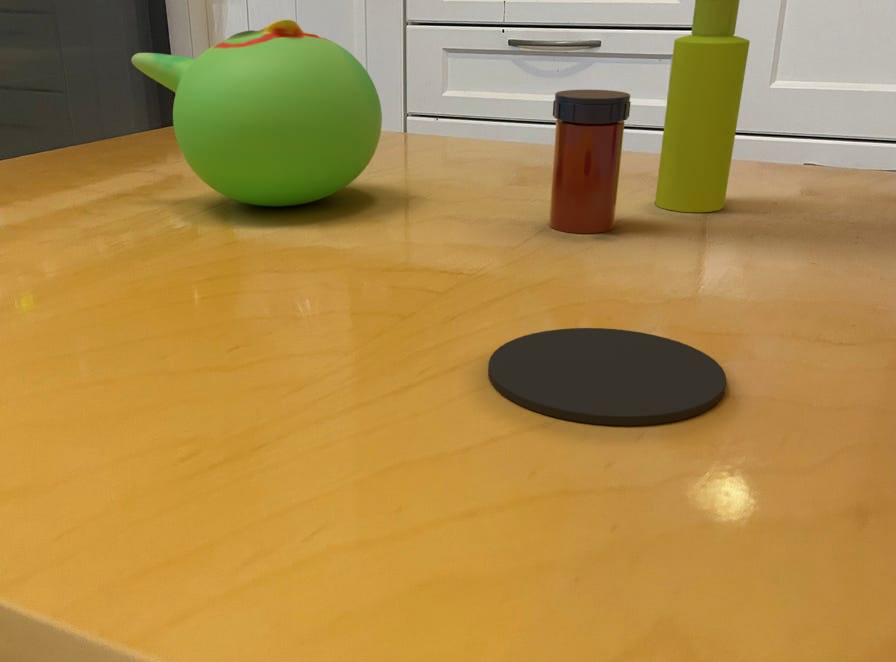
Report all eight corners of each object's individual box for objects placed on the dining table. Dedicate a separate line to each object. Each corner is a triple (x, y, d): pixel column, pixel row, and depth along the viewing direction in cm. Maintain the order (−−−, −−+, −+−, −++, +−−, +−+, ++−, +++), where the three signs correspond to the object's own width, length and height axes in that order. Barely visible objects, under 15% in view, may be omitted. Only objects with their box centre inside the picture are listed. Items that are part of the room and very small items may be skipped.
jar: (602, 217, 79) (614, 96, 74) (622, 232, 74) (636, 104, 70) (542, 219, 78) (549, 97, 73) (558, 234, 74) (568, 106, 69)
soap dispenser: (747, 207, 82) (792, -60, 72) (684, 215, 79) (722, -61, 69) (702, 194, 86) (738, -59, 76) (641, 201, 84) (670, -59, 74)
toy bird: (259, 237, 73) (242, 26, 66) (141, 203, 83) (114, 18, 76) (419, 200, 84) (419, 16, 77) (298, 174, 94) (288, 10, 87)
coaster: (672, 331, 54) (673, 322, 54) (767, 417, 44) (769, 408, 44) (468, 341, 53) (468, 332, 53) (517, 433, 43) (518, 423, 42)
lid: (614, 112, 75) (616, 88, 74) (638, 122, 70) (640, 97, 69) (545, 113, 74) (546, 90, 73) (565, 124, 69) (566, 99, 69)
